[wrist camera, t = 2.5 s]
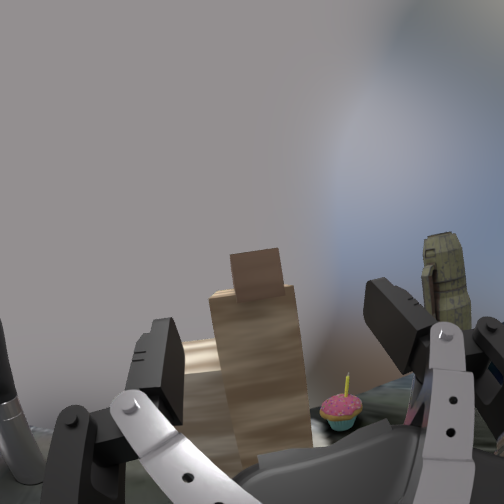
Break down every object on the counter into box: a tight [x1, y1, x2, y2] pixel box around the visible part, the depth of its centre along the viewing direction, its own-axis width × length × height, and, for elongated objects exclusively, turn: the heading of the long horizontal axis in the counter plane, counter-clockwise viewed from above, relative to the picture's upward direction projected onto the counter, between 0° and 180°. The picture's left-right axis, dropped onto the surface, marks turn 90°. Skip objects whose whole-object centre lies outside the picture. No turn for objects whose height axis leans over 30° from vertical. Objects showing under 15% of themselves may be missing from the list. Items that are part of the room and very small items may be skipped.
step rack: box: [174, 284, 313, 479], centre depth 33 cm, size 16×16×32 cm
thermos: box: [421, 232, 471, 330], centre depth 39 cm, size 9×12×35 cm
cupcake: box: [320, 373, 362, 431], centre depth 48 cm, size 9×8×12 cm
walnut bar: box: [230, 248, 286, 303], centre depth 29 cm, size 24×3×3 cm, turn 4°
